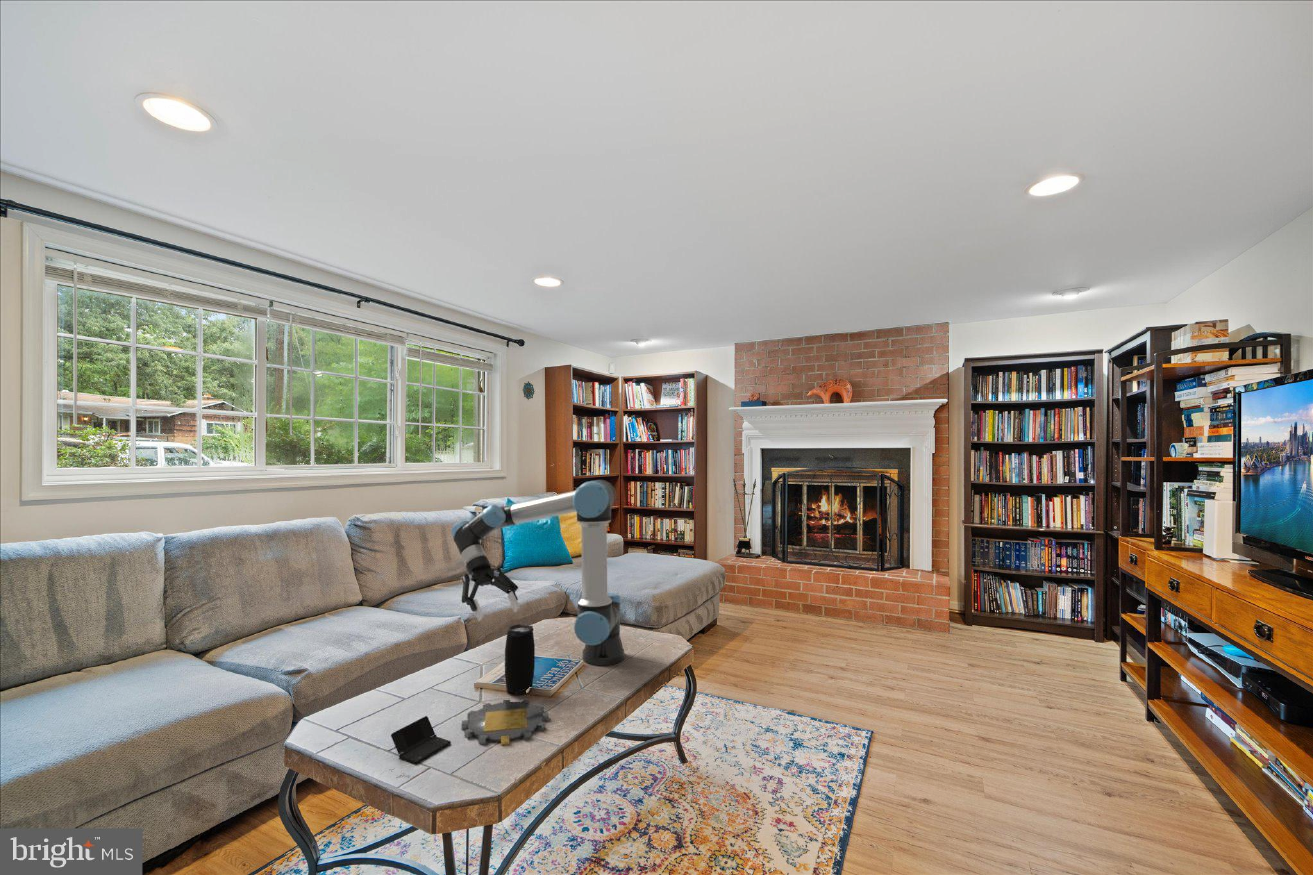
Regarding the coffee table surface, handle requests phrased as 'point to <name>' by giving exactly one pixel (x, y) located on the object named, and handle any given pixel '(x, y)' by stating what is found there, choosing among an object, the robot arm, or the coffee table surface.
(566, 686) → the coffee table surface
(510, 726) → the sprocket plate
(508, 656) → the portable speaker
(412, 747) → the handheld gaming console
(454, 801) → the coffee table surface
